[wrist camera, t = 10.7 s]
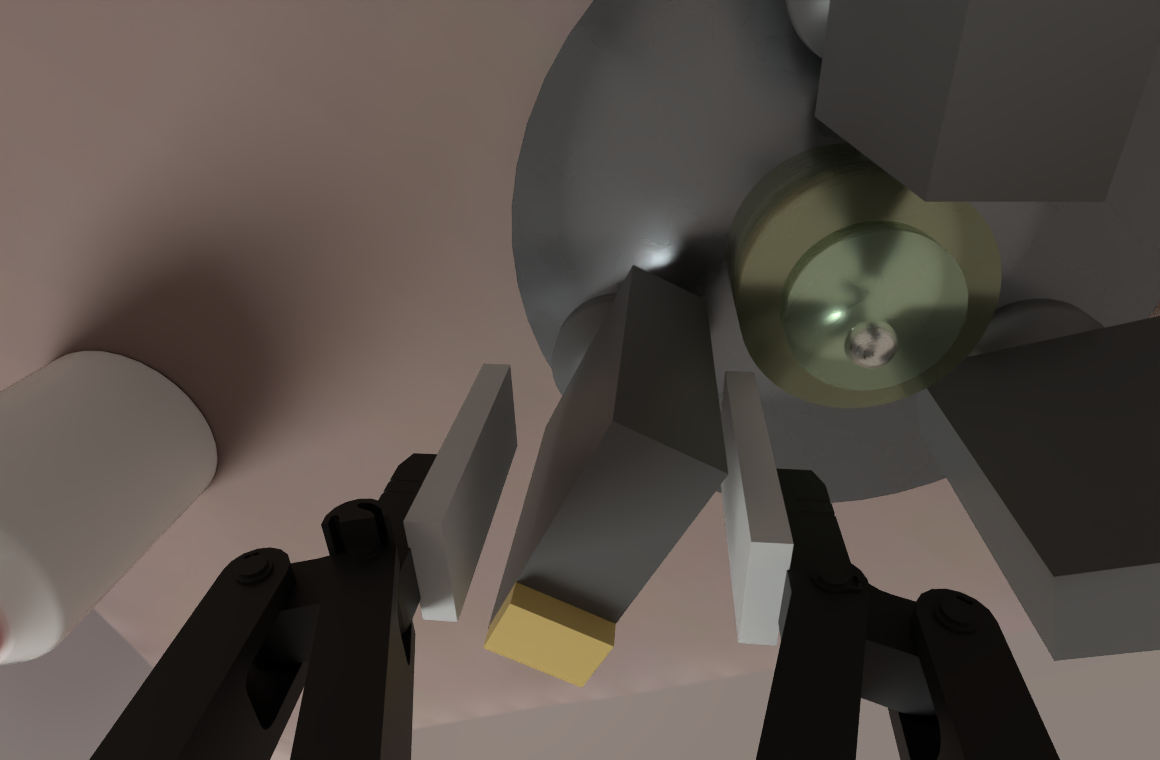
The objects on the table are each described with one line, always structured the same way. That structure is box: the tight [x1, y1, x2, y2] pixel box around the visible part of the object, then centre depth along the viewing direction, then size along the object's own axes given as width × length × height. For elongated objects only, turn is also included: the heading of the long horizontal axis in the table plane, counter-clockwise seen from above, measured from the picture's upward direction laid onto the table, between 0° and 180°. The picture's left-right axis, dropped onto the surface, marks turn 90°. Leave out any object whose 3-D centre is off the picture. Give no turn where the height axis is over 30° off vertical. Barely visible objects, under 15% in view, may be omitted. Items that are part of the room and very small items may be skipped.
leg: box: [916, 298, 1160, 661], centre depth 16 cm, size 6×4×10 cm
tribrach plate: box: [512, 0, 1160, 503], centre depth 18 cm, size 19×19×7 cm
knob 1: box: [483, 265, 728, 687], centre depth 18 cm, size 6×4×10 cm
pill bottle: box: [0, 351, 218, 665], centre depth 23 cm, size 8×8×11 cm
